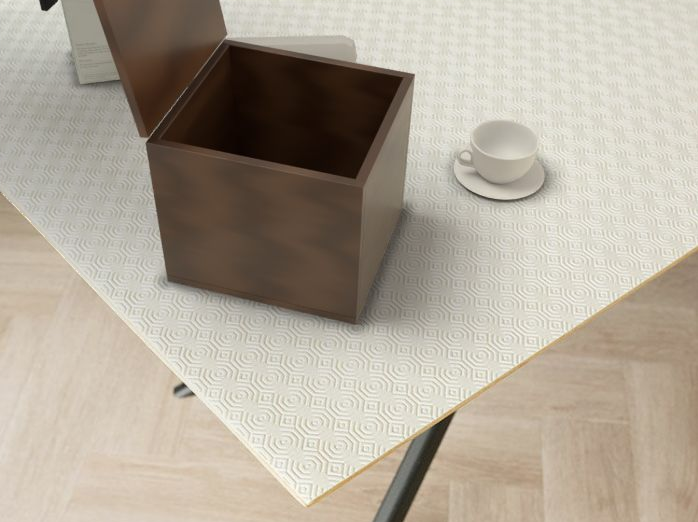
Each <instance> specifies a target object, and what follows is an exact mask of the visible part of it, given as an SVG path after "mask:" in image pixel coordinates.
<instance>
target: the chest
mask: <svg viewBox="0 0 698 522" xmlns="http://www.w3.org/2000/svg"><path fill="white" fill-rule="evenodd" d="M415 80H416V74H415V73H412V72H407V71H401V70H396V69H392V68H391V69H390V68H386V67H381V66H380V67H379V66H374V65H368V64H363V63H358V62H356V63H353V62H347V61H342V60H336V59H331V58H326V57H320V56H315V55H309V54H304V53H298V52H293V51H287V50H282V49H277V48H271V47H266V46H260V45H255V44H249V43H244V42H238V41H233V40H228V39H224V40H223V42H222V43H221V44H220V46H219V47H218V48H217V49H216V51H215V52H214V53H213V55H212V56H211V57H210V59H209V60H208V61H207V63H206V64H205V65H204V67H203V68H202V69H201V70H200V72H199V73H198V74H197V76H196V77H195V78H194V80H192V81H191V83H190V84H189V85H188V87H187V88H186V89H185V91H184V92H183V93H182V95H181V96H180V97H179V98H178V100H177V101H176V102H175V104H174V105H173V106H172V108H171V109H170V110H169V112H168V113H167V114H166V116H165V117H164V118H163V119H162V121H161V122H160V123H159V125H158V126H157V127H156V129H155V130H154V131H153V133H152V134H151V135H150V137H149V138H147V140H146V141H145V150H146V155H147V162H148V167H149V174H150V175H149V176H150V180H151V181H150V182H151V187H152V194H153V199H154V204H155V205H154V206H155V211H156V217H157V218H156V219H157V224H158V230H159V236H160V242H161V249H162V255H163V261H164V266H165V268H164V269H165V273H166V279H167V282H170V283H173V284H177V285H178V284H179V285H183V286H187V287H191V288H195V289H200V290H204V291H208V292H212V293H217V294H221V295H225V296H230V297H234V298H238V299H243V300H248V301H251V302H256V303H259V304H265V305H268V306H273V307H277V308H281V309H286V310H290V311H294V312H299V313H304V314H307V315H312V316H315V317H320V318H324V319H328V320H332V321H336V322H342V323H346V324H350V325H354V326H356V325H357V324H358V321H359V319H360V316H361V313H362V311H363V308H364V306H365V304H366V302H367V298H368V296H369V293H370V291H371V289H372V286H373V284H374V281H375V278H376V276H377V274H378V271H379V269H380V265H381V263H382V261H383V259H384V256H385V253H386V251H387V248H388V245H389V243H390V241H391V239H392V236H393V233H394V230H395V229H396V226H397V223H398V221H399V218H400V216H401V213H402V211H403V208H404V207H403V206H404V197H405V196H404V195H405V186H406V174H407V164H408V155H409V145H410V132H411V122H412V112H413V111H412V110H413V103H414V90H415V82H416V81H415Z"/></svg>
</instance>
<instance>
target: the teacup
mask: <svg viewBox="0 0 698 522" xmlns="http://www.w3.org/2000/svg"><path fill="white" fill-rule="evenodd" d="M540 146H541V139H540V137H539V135H538V133H537V132H536V131H535V130H534V129H532V128H531V127H530V126H529V125H527V124H525V123H522V122H520V121H517V120H514V119H507V118H494V119H493V118H492V119H487V120H484V121H482V122H480V123H478V124H477V125H475V126H474V127H473V128H472V130H471V132H470V136H469V144H464V145H461V146H459V147H458V148H457V150H456V158H455V160H454V163H453V173H454V175H455V177H456V179H457V181H458V182H459V183H460V184H461V185H462V186H463V187H465V189H467V190H469V191H471V192H473V193H475V194H477V195H480V196H483V197H485V198H488V199H489V198H490V199H495V200H503V201H504V200H517V199H521V198H525V197H528V196H531V195H532V194H534V193H536V192H537V191H539V189H540V188H541V187H542V186H543V184H544V182H545V177H546V175H545V174H546V173H545V170H544V166H542V164H541V162H540V161H539V160H538V159H537V156H538V152H539V150H540V148H541V147H540Z"/></svg>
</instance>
